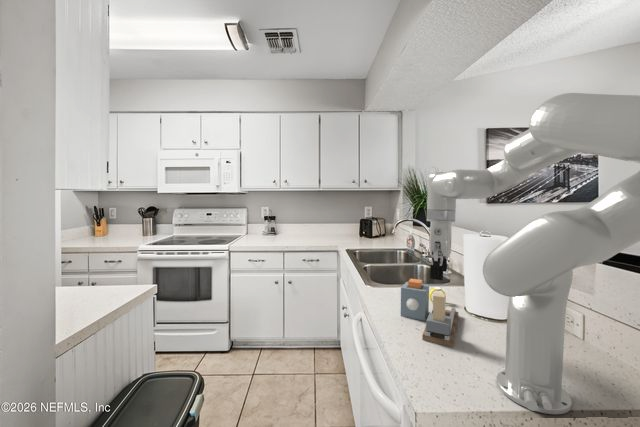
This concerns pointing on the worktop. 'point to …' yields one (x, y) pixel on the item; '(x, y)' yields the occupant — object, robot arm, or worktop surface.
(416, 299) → the end cabinet
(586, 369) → the worktop surface
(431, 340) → the rail board
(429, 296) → the watch
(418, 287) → the button
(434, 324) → the carriage
